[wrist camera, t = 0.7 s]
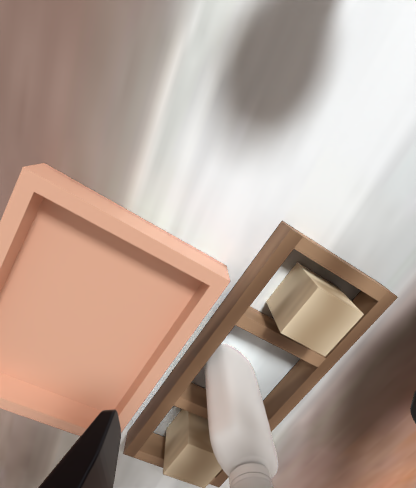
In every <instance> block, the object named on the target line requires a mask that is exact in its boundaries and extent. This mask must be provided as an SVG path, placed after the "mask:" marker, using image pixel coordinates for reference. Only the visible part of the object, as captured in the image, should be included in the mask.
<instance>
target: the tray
mask: <svg viewBox="0 0 416 488" xmlns="http://www.w3.org/2000/svg"><path fill="white" fill-rule="evenodd" d="M229 283H230V277H229V274H228V270H227V266H226V265H224V264H223V263H221V262H219V261H217V260H215V259H214V258H212V257H210V256H208V255H207V254H205V253H203V252H201V251H199V250H198V249H196V248H194V247H192V246H191V245H189V244H187V243H185V242H183V241H182V240H180V239H178V238H176V237H175V236H173V235H171V234H169V233H168V232H166V231H164V230H162V229H160V228H159V227H157V226H155V225H153V224H152V223H150V222H148V221H146V220H144V219H143V218H141V217H139V216H137V215H136V214H134V213H132V212H130V211H128V210H127V209H125V208H123V207H121V206H120V205H118V204H116V203H114V202H113V201H111V200H109V199H107V198H105V197H104V196H102V195H100V194H98V193H97V192H95V191H93V190H91V189H89V188H88V187H86V186H84V185H82V184H81V183H79V182H77V181H75V180H73V179H72V178H70V177H68V176H66V175H65V174H63V173H61V172H59V171H58V170H56V169H54V168H52V167H50V166H49V165H47V164H45V163H42V164H36V165H31V166H26V167H23V168H22V171H21V173H20V176H19V178H18V180H17V183H16V185H15V188H14V190H13V192H12V195H11V197H10V200H9V202H8V204H7V207H6V209H5V212H4V214H3V216H2V219H1V221H0V408H2V409H4V410H7V411H10V412H13V413H16V414H19V415H22V416H24V417H27V418H30V419H33V420H36V421H39V422H41V423H44V424H47V425H50V426H53V427H56V428H59V429H61V430H64V431H67V432H70V433H73V434H76V435H78V436H81V435H82V434H83V433H84V432H85V430H86V429H87V428H88V427H89V426H90V424H91V423H92V422H93V421H94V419H95V418H96V417H97V416H98V415H99V413H100V412H101V411H103V410H111V409H115V410H116V411H117V413H118V417H119V422H120V427H121V432H122V431H123V430H124V428H125V427H126V425H127V424H128V423H129V421H130V420H131V418H132V417H133V416H134V414H135V413H136V412H137V410H138V409H139V407H140V406H141V405H142V403H143V402H144V400H145V399H146V398H147V396H148V395H149V394H150V392H151V391H152V389H153V388H154V387H155V385H156V384H157V382H158V381H159V380H160V378H161V377H162V376H163V374H164V373H165V371H166V370H167V369H168V367H169V366H170V364H171V363H172V362H173V360H174V359H175V357H176V356H177V355H178V353H179V352H180V351H181V349H182V348H183V346H184V345H185V344H186V342H187V341H188V339H189V338H190V337H191V335H192V334H193V333H194V331H195V330H196V328H197V327H198V326H199V324H200V323H201V321H202V320H203V319H204V317H205V316H206V315H207V313H208V312H209V310H210V309H211V308H212V306H213V305H214V303H215V302H216V301H217V299H218V298H219V297H220V295H221V294H222V292H223V291H224V290H225V288H226V287H227V285H228V284H229Z"/></svg>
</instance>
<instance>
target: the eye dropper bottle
mask: <svg viewBox="0 0 416 488" xmlns="http://www.w3.org/2000/svg"><path fill="white" fill-rule="evenodd" d="M205 380H206V396H207V412H208V425H209V435H210V441H211V446H212V449H213V452H214V454H215V457H216V459H217V461H218V463H219V464H220V466H221V468H222V469H223V471H224V472H225V473H226V474H227V475H228V476H229V484H230V488H273V485H272V481H271V479H272V478H273V477H274V476H275V475H276V473H277V470H278V458H277V453H276V449H275V445H274V441H273V437H272V434H271V430H270V426H269V422H268V419H267V415H266V411H265V408H264V404H263V400H262V396H261V393H260V389H259V385H258V382H257V378H256V374H255V372H254V369H253V367H252V365H251V363H250V362H249V360H248V359H247V358H246V357H245V356H244V355H243V354H242V353H241V352H240V351H238V350H237V349H236V348H234V347H232V346H230V345H228V344H221V345H219V347H218V348H217V349H216V351H215V352H214V353H213V355H212V356H211V357H210V358H209V360H208V361H207V362H206V364H205Z"/></svg>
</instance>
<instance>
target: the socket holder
mask: <svg viewBox="0 0 416 488" xmlns="http://www.w3.org/2000/svg"><path fill="white" fill-rule="evenodd" d="M293 249H295V250H297V251H298V252H300V253H301V254H303V255H305V256H306V257H308V258H309V259H311V260H313V261H314V262H316V263H318V264H319V265H321V266H322V267H324V268H326V269H327V270H329V271H330V272H332V273H334V274H335V275H337V276H339V277H340V278H342V279H343V280H345V281H347V282H348V283H350V284H351V285H353V286H355V287H356V288H358V289H360V290H361V291H360V292H359V294H358V295H357V296H356V297H355V298H354V299H353V300H352V301H351V302H352V303H353V304H354V305H355V306H356V307H357V308H358V309H359V310H360V311H361V312H362V313H363V314H364V315H363V316H362V317H361V318H360V319H359V320H358V321H357V323H356V324H355V325H354V326H353V327H352V328H351V329H350V330H349V331H348V332H347V333H346V335H345V336H344V337H343V338H342V339H341V340H340V341H339V342H338V343H337V344H336V345H335V347H334V348H333V349H332V350H331V351H330V352H329V353H328V354H327V355H326V356H323V355H321V354H320V353H318V352H316V351H314V350H312V349H310V348H308V347H306V346H304V345H303V344H301V343H299V342H297V341H295V340H293V339H291V338H289V337H287V336H285V335H284V334H282V333H280V331H279V329H278V326H277V324H276V322H275V320H274V319H272V318H271V317H269V316H267V315H265V314H263V313H261V312H259V311H258V310H256V309H254V308H252V307H250V305H251V304H252V302H253V301H254V300H255V299H256V297H257V296H258V295H259V293H260V292H261V291H262V289H263V288H264V287H265V286H266V284H267V283H268V282H269V280H270V279H271V278H272V276H273V275H274V274H275V273H276V271H277V270H278V269H279V267H280V266H281V265H282V263H283V262H284V261H285V259H286V258H287V257H288V256H289V254H290V253H291V252H292V250H293ZM397 298H398V297H397V296H396V295H395V294H393V293H392V292H391V291H389V290H388V289H387V288H386V287H384V286H383V285H382V284H380V283H379V282H377V281H376V280H374V279H372V278H371V277H369V276H368V275H366V274H365V273H363V272H362V271H360V270H358V269H357V268H355V267H354V266H352V265H351V264H349V263H347V262H346V261H344V260H343V259H341V258H340V257H338V256H337V255H335V254H333V253H332V252H330V251H329V250H327V249H326V248H324V247H322V246H321V245H319V244H318V243H316V242H315V241H313V240H312V239H310V238H308V237H307V236H305V235H304V234H302V233H301V232H299V231H298V230H296V229H294V228H293V227H291V226H290V225H288V224H287V223H285V222H283V221H282V222H281V223H280V224H279V226H278V227H277V228H276V230H275V231H274V233H273V234H272V235H271V237H270V238H269V239H268V241H267V242H266V244H265V245H264V246H263V248H262V249H261V250H260V252H259V253H258V254H257V256H256V257H255V259H254V260H253V261H252V263H251V264H250V265H249V267H248V268H247V270H246V271H245V272H244V274H243V275H242V276H241V278H240V279H239V280H238V282H237V283H236V285H235V286H234V287H233V289H232V290H231V291H230V293H229V294H228V296H227V297H226V298H225V300H224V301H223V302H222V304H221V305H220V306H219V308H218V309H217V311H216V312H215V313H214V315H213V316H212V317H211V319H210V320H209V322H208V323H207V324H206V326H205V327H204V328H203V330H202V331H201V332H200V334H199V335H198V337H197V338H196V339H195V341H194V342H193V343H192V345H191V346H190V348H189V349H188V350H187V352H186V353H185V354H184V356H183V357H182V359H181V360H180V361H179V363H178V364H177V365H176V367H175V368H174V369H173V371H172V372H171V374H170V375H169V376H168V378H167V379H166V380H165V382H164V383H163V385H162V386H161V387H160V389H159V390H158V391H157V393H156V394H155V395H154V397H153V398H152V400H151V401H150V402H149V404H148V405H147V406H146V408H145V409H144V411H143V412H142V413H141V415H140V416H139V417H138V419H137V420H136V421H135V423H134V424H133V426H132V427H131V428H130V430H129V431H128V434H127V438H126V443H125V448H124V452H123V454H125V455H128V456H131V457H134V458H137V459H139V460H142V461H145V462H148V463H151V464H154V465H157V466H159V467H162V468H163V466H164V454H165V442H166V437H163V436H160V435H158V434H155V433H153V431H154V430H155V429H156V428H157V426H158V425H159V424H160V422H161V421H162V420H163V418H164V417H165V416H166V415H167V413H168V412H169V411H170V409H171V408H172V407H173V405H174V406H176V407H179V408H181V409H183V410H186V411H188V412H191V413H193V414H196V415H198V416H201V417H203V418H205V419H208V412H207V396H206V389H205V388H202V387H200V386H198V385H196V384H193V383H191V382H192V381H193V379H194V378H195V377H196V375H197V374H198V373H199V372H200V370H201V369H202V368H203V366H204V365H205V364H206V362H207V361H208V360H209V358H210V357H211V356H212V355H213V353H214V352H215V351H216V349H217V348H218V347H219V345H220V344H221V343H222V342H223V340H224V339H225V338H226V336H227V335H228V334H229V332H230V331H231V330H232V329H233V327H234V326H235V325H236V326H238V327H240V328H242V329H244V330H246V331H248V332H250V333H252V334H254V335H256V336H258V337H259V338H261V339H263V340H265V341H267V342H269V343H271V344H273V345H275V346H277V347H279V348H281V349H283V350H285V351H287V352H289V353H291V354H293V355H295V356H297V357H299V358H301V359H300V360H299V361H298V362H297V363H296V365H295V366H294V367H293V368H292V369H291V370H290V371H289V372H288V374H287V375H286V376H285V377H284V378H283V379H282V380H281V381H280V383H279V384H278V385H277V386H276V387H275V388H274V389H273V390H272V392H271V393H270V394H269V395H268V396H267V397H266V398H265V399H264V401H263V404H264V408H265V411H266V415H267V419H268V422H269V426H270V430H271V432H272V430H273V429H274V428H275V427H276V426H277V425H278V424H279V423H280V422H281V421H282V420H283V419H284V418H285V417H286V416H287V415H288V413H289V412H290V411H291V410H292V409H293V408H294V407H295V406H296V405H297V404H298V403H299V402H300V401H301V400H302V399H303V398H304V396H305V395H306V394H307V393H308V392H309V391H310V390H311V389H312V388H313V387H314V386H315V385H316V384H317V383H318V382H319V380H320V379H321V378H322V377H323V376H324V375H325V374H326V373H327V372H328V371H329V370H330V369H331V368H332V367H333V366H334V365H335V363H336V362H337V361H338V360H339V359H340V358H341V357H342V356H343V355H344V354H345V353H346V352H347V351H348V350H349V349H350V348H351V346H352V345H353V344H354V343H355V342H356V341H357V340H358V339H359V338H360V337H361V336H362V335H363V334H364V333H365V332H366V331H367V329H368V328H369V327H370V326H371V325H372V324H373V323H374V322H375V321H376V320H377V319H378V318H379V317H380V316H381V315H382V314H383V312H384V311H385V310H386V309H387V308H388V307H389V306H390V305H391V304H392V303H393V302H394V301H395V300H396V299H397ZM228 477H229V476H228V475H227V474H226V473H225V472H224V471H223V469H222V470H221V471H220V472H219V473H218V474H217V475H216V476H215V477H214V478H213V479H212V481H211V482H210V483H209V484H211V485H214V486H217V487H220V486H221V485H222V484H223V483H224V482H225V480H226V479H227V478H228Z"/></svg>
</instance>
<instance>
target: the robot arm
mask: <svg viewBox="0 0 416 488" xmlns="http://www.w3.org/2000/svg"><path fill="white" fill-rule="evenodd" d="M410 411H411V415H412V418H413V420H414V421H415V423H416V391H415V393H414V397H413V400H412V404H411V408H410ZM120 439H121V427H120V422H119V417H118V413H117V411H116V410H115V409H111V410H103V411H101V412H100V413H99V415H98V416H97V417H96V418H95V419H94V421H93V422H92V423H91V424H90V426H89V427H88V428H87V429H86V430H85V432H84V433H83V434H82V435H81V436H80V438H79V439H78V440H77V441H76V443H75V444H74V445H73V446H72V447H71V449H70V450H69V451H68V452H67V454H66V455H65V456H64V457H63V458H62V460H61V461H60V462H59V463H58V464H57V466H56V467H55V468H54V469H53V471H52V472H51V473H50V474H49V475H48V477H47V478H46V479H45V480H44V481H43V483H42V484H41V485H40V486H39V488H113V484H114V478H115V471H116V465H117V458H118V452H119V445H120Z"/></svg>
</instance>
